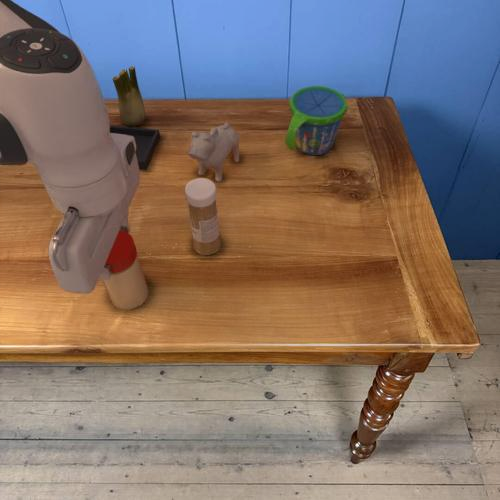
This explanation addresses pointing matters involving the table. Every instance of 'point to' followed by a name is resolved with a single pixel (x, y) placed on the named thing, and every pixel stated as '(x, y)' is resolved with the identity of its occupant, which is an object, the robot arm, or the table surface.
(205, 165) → the dog figurine
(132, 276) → the jar
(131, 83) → the fennel bulb
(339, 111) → the snack cup
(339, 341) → the table surface
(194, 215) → the sprinkles bottle
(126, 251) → the lid
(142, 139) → the tray
